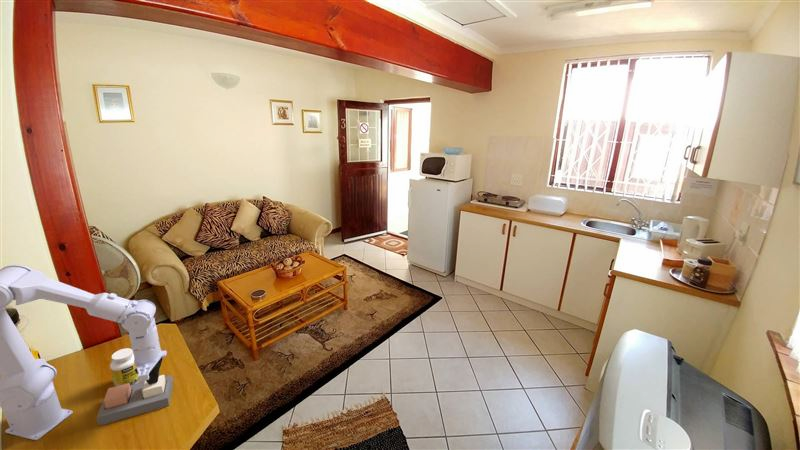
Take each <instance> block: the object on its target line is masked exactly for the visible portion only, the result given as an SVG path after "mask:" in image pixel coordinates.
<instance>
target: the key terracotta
mask: <svg viewBox="0 0 800 450" xmlns="http://www.w3.org/2000/svg"><path fill="white" fill-rule="evenodd" d="M107 391H108V392H107ZM107 391H106V393H107V394H106V393H105V395H106V397H105V396H104V398H105V399H103V400H104V403H105V407H106V409H109V408H113V407H117V406H120V405H124V404H128V401H129V398H130V394H131V388H130V383H128V384H123V385H119V386H112V387H108V389H107Z"/></svg>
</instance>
